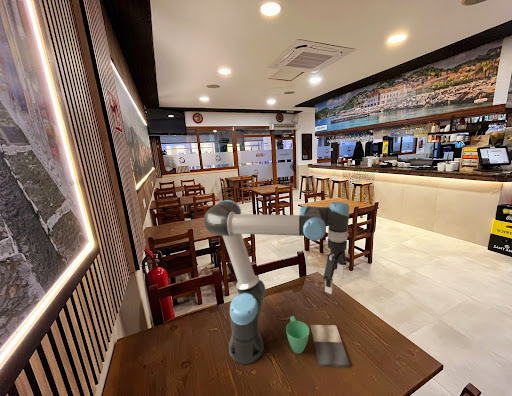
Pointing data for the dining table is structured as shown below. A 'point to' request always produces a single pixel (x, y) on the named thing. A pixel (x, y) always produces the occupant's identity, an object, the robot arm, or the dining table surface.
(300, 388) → the dining table surface
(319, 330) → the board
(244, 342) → the robot arm
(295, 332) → the mug
